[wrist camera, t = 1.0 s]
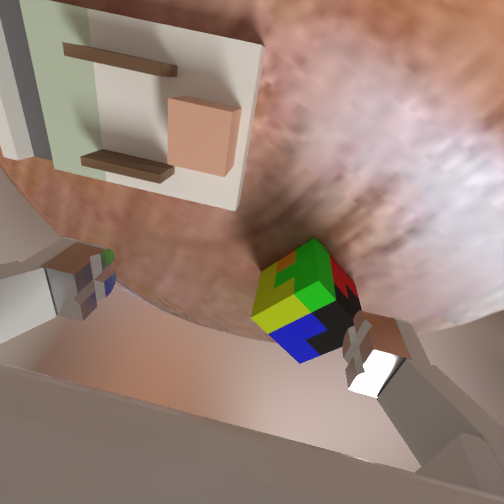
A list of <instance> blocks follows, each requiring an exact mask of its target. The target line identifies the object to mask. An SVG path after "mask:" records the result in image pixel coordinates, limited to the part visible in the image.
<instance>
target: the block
mask: <svg viewBox="0 0 504 504" xmlns="http://www.w3.org/2000/svg"><path fill="white" fill-rule="evenodd" d="M241 111H242V108H238V107H234V106H229V105H225V104H220V103H215V102H211V101H206V100H202V99H197V98H193V97H188V96H182V97H173V98H168V150H167V164H169V165H173V166H177V167H182V168H186V169H190V170H195V171H199V172H203V173H208V174H212V175H217V176H221V177H225V176H226V175H227V173H228V172H229V171H230V170H231V169H232V168H233V166H234V161H235V154H236V147H237V140H238V133H239V126H240V118H241Z"/></svg>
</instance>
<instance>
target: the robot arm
mask: <svg viewBox="0 0 504 504" xmlns="http://www.w3.org/2000/svg"><path fill="white" fill-rule="evenodd" d="M113 261H114V253H113V251H112V250H111V249H109V248H105V247H102V246H98V245H94V244H91V243H87V242H83V241H79V240H75V239H71V238H61V239H59V240H58V241H56V242H54V243H53V244H51V245H49V246H48V247H46V248H45V249H43V250H41V251H40V252H38V253H36V254H35V255H33V256H31V257H30V258H28V259H27V260H25V261H23V262H18V261H15V262H11V263H7V264H2V265H0V343H3V342H5V341H7V340H9V339H11V338H13V337H15V336H17V335H19V334H21V333H24V332H26V331H28V330H30V329H32V328H34V327H36V326H38V325H40V324H42V323H44V322H47V321H49V320H51V319H53V318H55V317H56V315H58V316H63V317H66V318H71V319H75V320H80V321H84V320H85V319H86V318H87V317H88V316H89V315H90V314H91V313H92V312H93V311H94V310H95V308H96V307H97V301H98V300H101V299H103V298H106V297H107V296H108V295H109V293H110V292H111V291H112V289H113V287H114V285H115V280H116V271H115V270H114V268H113V267H112V266H111V263H112V262H113ZM353 321H354V326H352V327H350V328H348V330H347V332H346V334H345V336H344V340H343V357H344V359H345V360H346V361H347V362H348V366H347V368H346V377H347V383H348V389H349V390H352V391H356V392H360V393H363V394H366V395H370V396H373V397H377V400H378V402H379V403H380V405H381V406H382V408H383V409H384V411H385V412H386V414H387V415H388V417H389V418H390V420H391V421H392V423H393V424H394V426H395V427H396V429H397V430H398V432H399V433H400V435H401V436H402V437H403V439H404V441H405V442H406V444H407V445H408V447H409V448H410V450H411V451H412V453H413V454H414V456H415V457H416V459H417V460H418V462H419V463H420V465H421V466H422V467H421V468H419V469H418V470H417V471H416V472H415V473H413V472H409V471H406V470H402V469H398V468H395V467H391V466H387V465H383V464H379V463H376V462H372V461H368V460H364V459H361V458H357V457H353V456H350V455H346V454H342V453H338V452H335V451H330V450H327V449H323V448H319V447H316V446H312V445H308V444H304V443H301V442H297V441H293V440H289V439H285V438H282V437H278V436H274V435H270V434H267V433H262V432H259V431H255V430H251V429H248V428H244V427H240V426H236V425H232V424H228V423H225V422H221V421H218V420H214V419H210V418H206V417H202V416H199V415H195V414H191V413H187V412H184V411H180V410H176V409H172V408H169V407H165V406H161V405H157V404H154V403H149V402H146V401H142V400H139V399H134V398H131V397H127V396H123V395H120V394H116V393H112V392H108V391H104V390H101V389H97V388H93V387H90V386H86V385H82V384H78V383H74V382H70V381H67V380H63V379H60V378H56V377H51V376H48V375H44V374H40V373H37V372H33V371H30V370H26V369H22V368H18V367H14V366H11V365H7V364H3V363H0V504H504V428H503V427H502V426H501V425H500V424H499V423H498V422H497V421H496V420H495V419H494V418H493V417H491V416H490V415H489V414H488V413H487V412H486V411H485V410H484V409H483V408H482V407H480V406H479V405H478V404H477V403H476V402H475V401H474V400H473V399H472V398H471V397H470V396H468V395H467V394H466V393H465V392H464V391H463V390H462V389H461V388H460V387H459V386H457V385H456V384H455V383H454V382H453V381H452V380H451V379H450V378H449V377H448V376H446V375H445V374H444V373H443V372H442V371H441V370H440V369H439V368H438V367H437V366H434V365H431V364H430V362H429V360H428V358H427V356H426V354H425V351H424V349H423V347H422V346H421V343H420V341H419V339H418V337H417V335H416V333H415V330H414V328H413V326H412V324H411V323H410V322H409V321H406V320H402V319H397V318H393V317H391V318H390V317H386V316H382V315H378V314H374V313H369V312H365V311H361V310H359V311H358V312H357V313H356V314H355V316H354V318H353Z"/></svg>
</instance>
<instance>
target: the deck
mask: <svg viewBox="0 0 504 504" xmlns="http://www.w3.org/2000/svg"><path fill="white" fill-rule="evenodd" d="M62 42H65V43H71V44H77V45H83V46H88V47H94V48H98V49H103V50H108V51H112V52H117V53H122V54H126V55H131V56H136V57H140V58H145V59H150V60H154V61H159V62H164V63H168V64H173V65H177V77H161V76H155V75H151V74H146V73H142V72H137V71H132V70H128V69H123V68H119V67H114V66H109V65H105V64H100V63H96V62H91V61H86V60H82V59H77V58H72V57H68V56H64V51H63V44H62ZM265 49H266V48H265V47H264V46H263V45H260V44H255V43H251V42H246V41H241V40H236V39H232V38H227V37H222V36H217V35H213V34H208V33H203V32H198V31H193V30H189V29H184V28H179V27H174V26H170V25H165V24H160V23H155V22H150V21H146V20H141V19H136V18H131V17H127V16H122V15H117V14H112V13H107V12H103V11H98V10H93V9H88V8H84V7H79V6H74V5H69V4H64V3H60V2H55V1H50V0H0V146H1V150H2V153H3V156H4V157H6V158H10V159H14V160H21V159H25V158H29V157H33V156H36V157H40V158H45V159H49V160H53V163H54V168H55V169H57V170H61V171H66V172H70V173H74V174H78V175H83V176H87V177H91V178H96V179H100V180H104V181H108V182H113V183H117V184H121V185H125V186H130V187H134V188H138V189H142V190H147V191H151V192H155V193H160V194H164V195H168V196H172V197H177V198H181V199H185V200H189V201H194V202H198V203H202V204H206V205H211V206H215V207H219V208H224V209H228V210H232V211H236V209H237V207H238V205H239V203H240V199H241V193H242V187H243V181H244V175H245V169H246V163H247V157H248V151H249V145H250V139H251V133H252V127H253V121H254V115H255V109H256V103H257V97H258V91H259V85H260V79H261V73H262V67H263V61H264V55H265ZM182 96H188V97H193V98H197V99H202V100H206V101H211V102H215V103H220V104H225V105H229V106H234V107H238V108H242V111H241V118H240V126H239V133H238V140H237V147H236V154H235V161H234V166H233V168H232V169H231V170H230V171H229V172H228V173H227V175H226V176H225V177H221V176H217V175H212V174H208V173H203V172H199V171H195V170H190V169H186V168H182V167H177V166H175V174H174V175H172V176H171V177H169V178H168V179H166V180H165V181H164V182H162V183H161V184H158V183H154V182H150V181H145V180H141V179H137V178H132V177H128V176H124V175H120V174H115V173H111V172H107V171H102V170H98V169H94V168H90V167H85V166H82V165H81V159H80V156H83V155H86V154H89V153H92V152H95V151H98V150H101V149H105V150H110V151H114V152H118V153H123V154H127V155H131V156H136V157H140V158H144V159H149V160H153V161H157V162H162V163H166V164H167V150H168V98H173V97H182Z"/></svg>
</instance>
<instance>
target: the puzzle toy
mask: <svg viewBox="0 0 504 504" xmlns="http://www.w3.org/2000/svg"><path fill="white" fill-rule="evenodd" d="M359 310H361V311H362V309H361V305H360V301H359V298H358V294H357V290H356V286H355V284H354V283H353V281H352V280H351V279H350V278H349V277H348V275H347V274H346V273H345V272H344V271H343V269H342V268H341V267H340V266H339V265H338V264H337V262H336V261H335V260H334V259H333V258H332V256H331V255H330V254H329V253H328V252H327V250H326V249H325V248H324V247H323V246H322V245H321V243H320V242H319V241H318V240H317V239H316V237H315V238H313V239H312V240H310V241H309V242H307V243H305V244H304V245H302V246H301V247H299V248H298V249H296V250H294V251H293V252H291V253H290V254H288V255H287V256H285V257H283V258H282V259H280V260H279V261H277V262H276V263H274V264H273V265H271V266H269V267H268V268H266V269H265V270H263V271H262V272H261V274H260V279H259V283H258V288H257V292H256V297H255V301H254V305H253V310H252V314H251V319H252V320H253V321H255V322H256V323H257V324H258V325H259V326H260V327H261V328H262V329H263V330H264V331H265V332H266V333H267V334H268V335H270V336H271V337H272V338H273V339H274V340H275V341H276V342H277V343H278V344H279V345H280V346H281V347H282V348H284V349H285V350H286V351H287V352H288V353H289V354H290V355H291V356H292V357H293V358H294V359H295V360H297V362H299V363H303V362H305V361H308V360H310V359H313V358H315V357H318V356H320V355H323V354H325V353H328V352H330V351H333V350H335V349H337V348H340V347H342V346H343V340H344V336H345V334H346V332H347V330H348V328H350V327H352V326H354V321H353V318H354V316H355V314H356V313H357V312H358V311H359Z"/></svg>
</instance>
